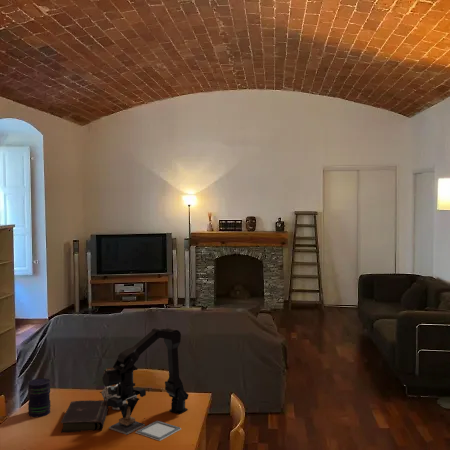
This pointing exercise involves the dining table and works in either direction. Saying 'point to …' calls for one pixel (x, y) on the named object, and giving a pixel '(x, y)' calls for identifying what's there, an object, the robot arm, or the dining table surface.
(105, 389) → the game die
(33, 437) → the dining table surface
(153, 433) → the print sheet
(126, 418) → the stamp
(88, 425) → the diary
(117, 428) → the ink pad
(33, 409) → the storage jar
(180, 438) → the dining table surface
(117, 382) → the robot arm
